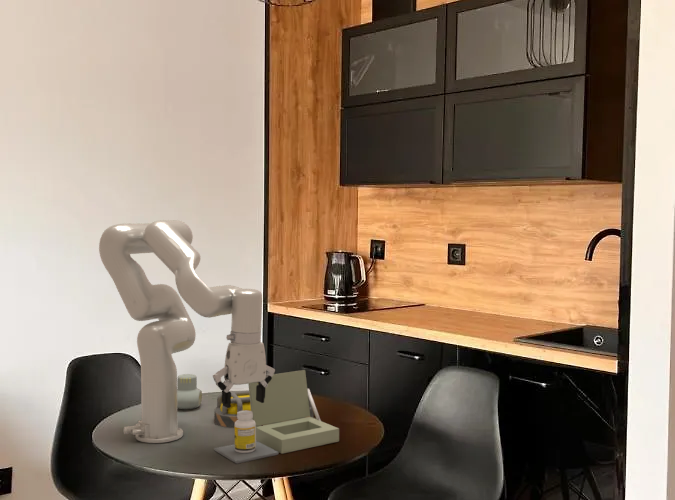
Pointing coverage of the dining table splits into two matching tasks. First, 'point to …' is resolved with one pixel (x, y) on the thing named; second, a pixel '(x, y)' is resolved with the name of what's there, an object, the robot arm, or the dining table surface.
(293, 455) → the dining table surface
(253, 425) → the supplement bottle
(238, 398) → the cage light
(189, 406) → the air freshener
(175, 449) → the dining table surface
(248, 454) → the slate pad
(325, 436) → the equipment case
